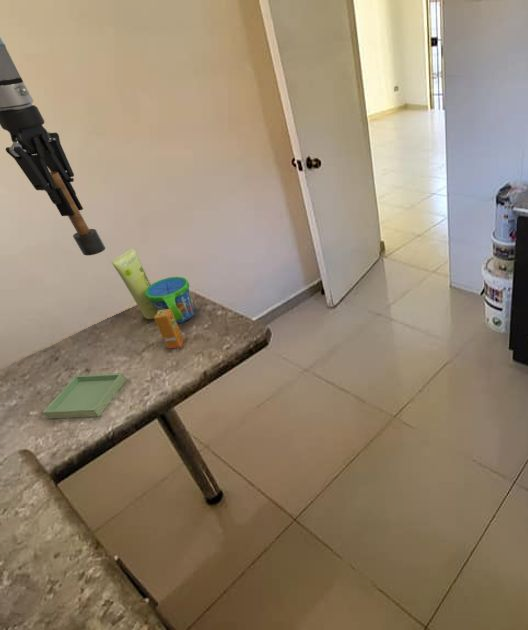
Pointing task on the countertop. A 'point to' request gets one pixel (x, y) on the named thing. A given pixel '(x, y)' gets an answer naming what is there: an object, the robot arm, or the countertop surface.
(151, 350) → the countertop surface
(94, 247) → the brush
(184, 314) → the snack cup
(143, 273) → the tube
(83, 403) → the tray
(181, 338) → the supplement box
